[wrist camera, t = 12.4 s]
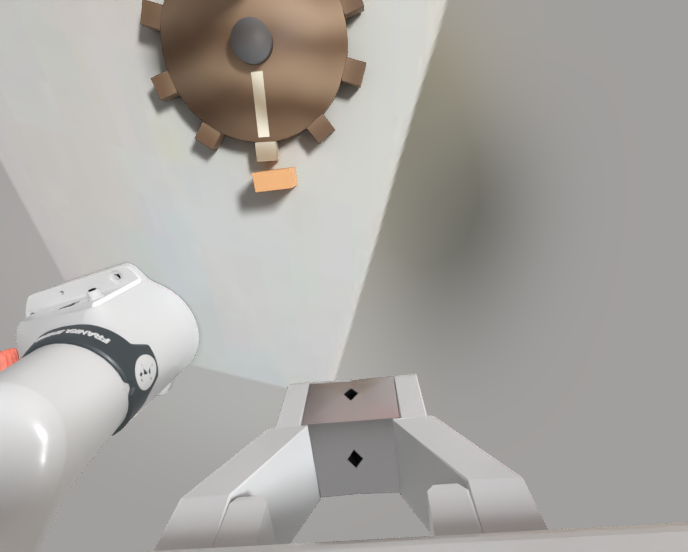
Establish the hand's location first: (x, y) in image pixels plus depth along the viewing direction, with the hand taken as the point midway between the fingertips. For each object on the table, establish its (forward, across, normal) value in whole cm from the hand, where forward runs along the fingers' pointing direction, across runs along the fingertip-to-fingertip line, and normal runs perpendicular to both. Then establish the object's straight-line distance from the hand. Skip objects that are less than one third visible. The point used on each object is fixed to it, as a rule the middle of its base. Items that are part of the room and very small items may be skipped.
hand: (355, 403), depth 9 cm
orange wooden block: (+39, +9, -3) cm, 40 cm away
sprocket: (+39, +9, -17) cm, 44 cm away
